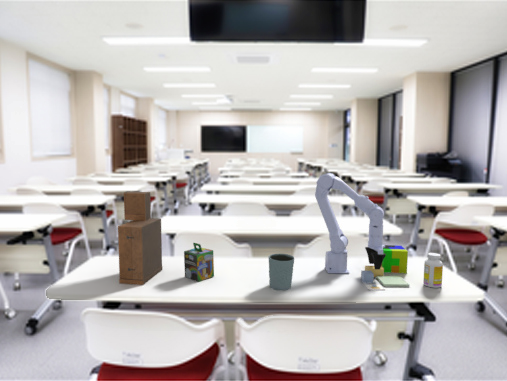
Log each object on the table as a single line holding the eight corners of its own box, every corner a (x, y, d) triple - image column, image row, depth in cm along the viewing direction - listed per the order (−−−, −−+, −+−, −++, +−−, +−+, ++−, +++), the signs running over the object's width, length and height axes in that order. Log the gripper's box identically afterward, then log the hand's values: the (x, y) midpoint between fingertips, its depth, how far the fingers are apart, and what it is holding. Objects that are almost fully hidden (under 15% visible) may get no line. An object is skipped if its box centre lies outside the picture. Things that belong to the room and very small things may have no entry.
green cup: (268, 281, 153) (268, 253, 151) (292, 282, 152) (293, 253, 151) (268, 291, 143) (268, 260, 141) (294, 291, 142) (295, 261, 141)
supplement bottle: (443, 285, 150) (445, 254, 149) (439, 289, 145) (441, 257, 144) (425, 281, 154) (427, 251, 153) (421, 285, 149) (422, 254, 148)
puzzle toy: (400, 266, 174) (401, 245, 173) (406, 273, 164) (407, 251, 163) (378, 265, 175) (379, 244, 174) (383, 272, 165) (384, 250, 164)
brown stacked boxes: (132, 268, 169) (130, 191, 165) (162, 269, 167) (160, 192, 163) (110, 282, 150) (107, 196, 146) (143, 285, 148) (140, 197, 144)
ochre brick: (366, 277, 159) (367, 268, 159) (364, 274, 163) (364, 265, 163) (383, 277, 159) (383, 268, 158) (380, 274, 163) (381, 265, 162)
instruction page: (369, 289, 145) (369, 289, 145) (365, 285, 150) (365, 284, 150) (384, 289, 144) (384, 289, 144) (380, 285, 149) (380, 284, 149)
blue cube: (363, 283, 152) (363, 273, 152) (360, 279, 156) (361, 270, 156) (373, 283, 152) (373, 273, 152) (370, 279, 156) (370, 270, 156)
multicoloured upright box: (214, 277, 158) (214, 242, 156) (197, 282, 151) (197, 246, 150) (200, 272, 164) (200, 239, 163) (183, 277, 158) (183, 242, 156)
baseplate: (384, 286, 148) (384, 284, 148) (376, 278, 158) (376, 275, 158) (409, 286, 148) (409, 284, 148) (399, 278, 158) (399, 276, 158)
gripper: (391, 239, 152) (389, 271, 153) (379, 231, 166) (378, 261, 168) (373, 239, 152) (372, 271, 153) (363, 231, 166) (362, 261, 168)
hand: (374, 266), depth 160 cm, fingers open, 7 cm apart
